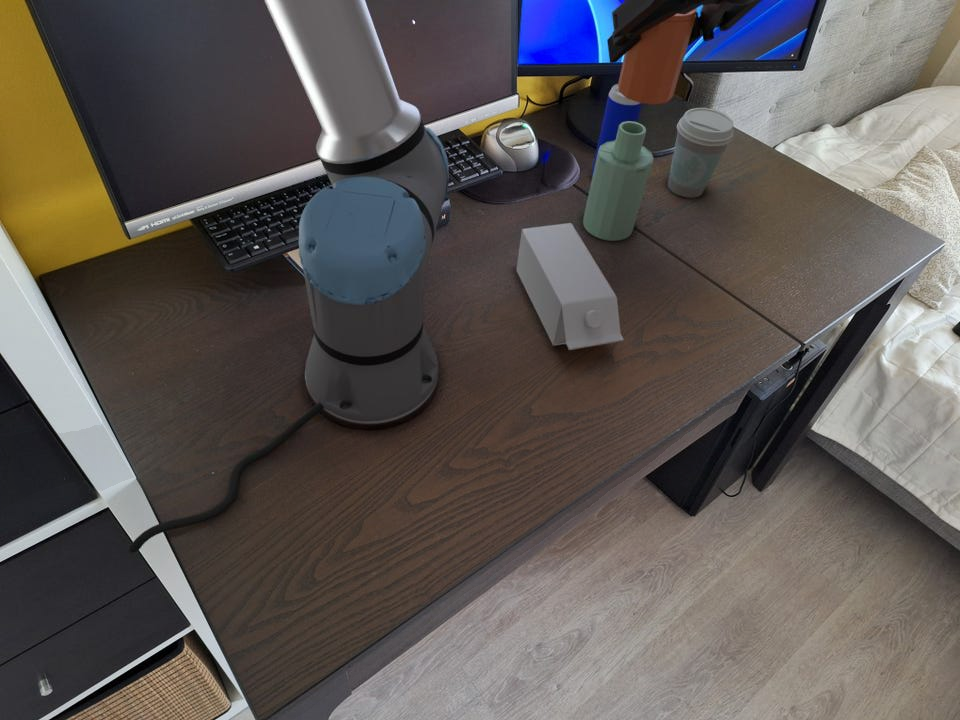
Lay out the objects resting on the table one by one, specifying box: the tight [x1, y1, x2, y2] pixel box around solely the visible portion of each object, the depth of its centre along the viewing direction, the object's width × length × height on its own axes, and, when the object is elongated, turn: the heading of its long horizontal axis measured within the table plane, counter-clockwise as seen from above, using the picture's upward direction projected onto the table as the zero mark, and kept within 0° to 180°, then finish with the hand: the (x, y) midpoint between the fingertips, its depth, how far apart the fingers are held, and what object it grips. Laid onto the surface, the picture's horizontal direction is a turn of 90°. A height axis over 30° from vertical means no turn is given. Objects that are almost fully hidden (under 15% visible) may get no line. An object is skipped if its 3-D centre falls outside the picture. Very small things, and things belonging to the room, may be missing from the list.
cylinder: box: [617, 8, 698, 105], centre depth 78 cm, size 7×7×10 cm
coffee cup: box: [667, 107, 735, 199], centre depth 106 cm, size 8×8×12 cm
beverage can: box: [591, 83, 643, 176], centre depth 105 cm, size 5×5×15 cm
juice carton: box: [515, 222, 625, 351], centre depth 85 cm, size 7×7×19 cm
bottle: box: [582, 121, 655, 242], centre depth 96 cm, size 8×8×16 cm
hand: (639, 49), depth 81 cm, fingers closed on cylinder, 7 cm apart
